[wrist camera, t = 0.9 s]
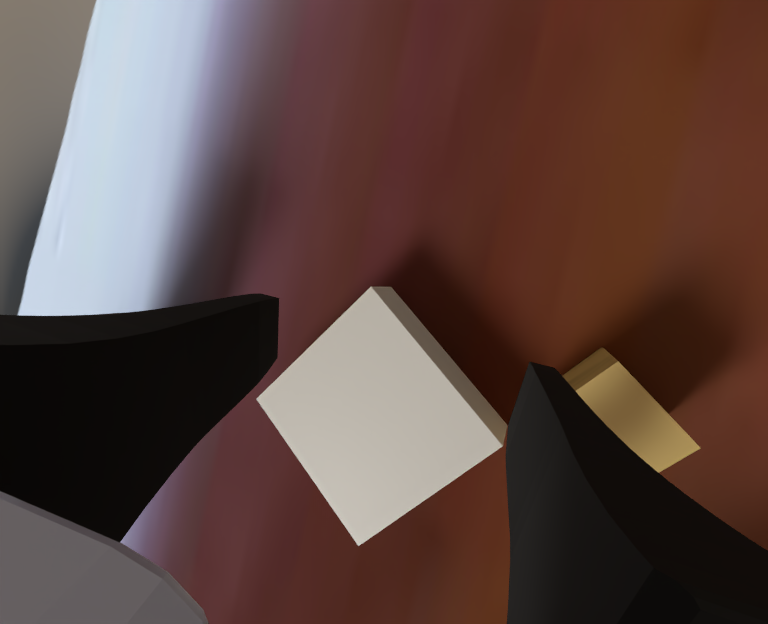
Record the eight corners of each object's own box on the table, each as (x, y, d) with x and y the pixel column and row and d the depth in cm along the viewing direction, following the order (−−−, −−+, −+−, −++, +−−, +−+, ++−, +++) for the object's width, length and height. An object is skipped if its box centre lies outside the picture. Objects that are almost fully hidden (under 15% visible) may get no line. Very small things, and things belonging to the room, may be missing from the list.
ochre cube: (666, 414, 22) (700, 448, 18) (591, 462, 24) (604, 504, 19) (602, 346, 23) (618, 361, 19) (533, 396, 25) (532, 420, 20)
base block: (507, 423, 26) (502, 446, 22) (381, 513, 30) (358, 545, 26) (393, 286, 28) (371, 286, 25) (289, 386, 32) (256, 398, 28)
